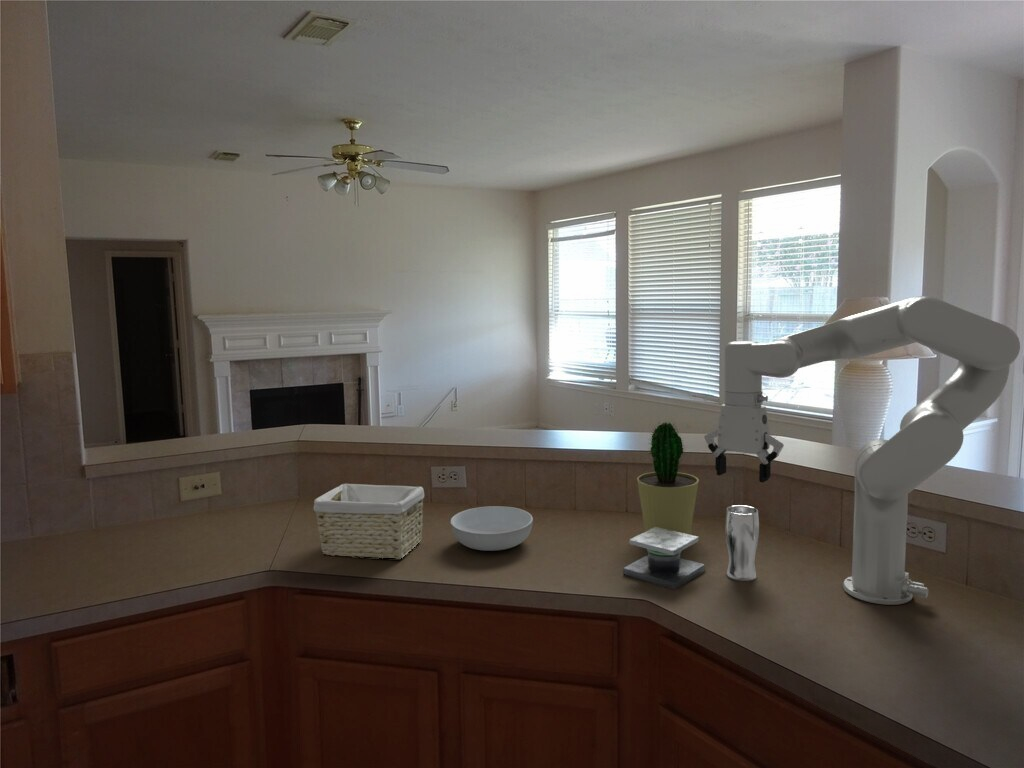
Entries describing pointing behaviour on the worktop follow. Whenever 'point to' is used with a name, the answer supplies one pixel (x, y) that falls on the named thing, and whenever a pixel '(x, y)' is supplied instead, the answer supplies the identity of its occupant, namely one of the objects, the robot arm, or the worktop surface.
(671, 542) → the metal stand
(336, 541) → the storage basket
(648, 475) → the potted cactus
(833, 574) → the worktop surface
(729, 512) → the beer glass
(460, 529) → the serving bowl
